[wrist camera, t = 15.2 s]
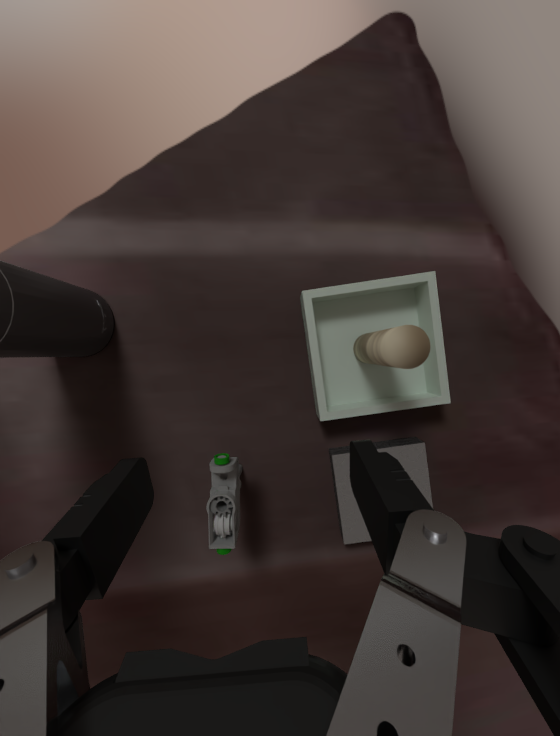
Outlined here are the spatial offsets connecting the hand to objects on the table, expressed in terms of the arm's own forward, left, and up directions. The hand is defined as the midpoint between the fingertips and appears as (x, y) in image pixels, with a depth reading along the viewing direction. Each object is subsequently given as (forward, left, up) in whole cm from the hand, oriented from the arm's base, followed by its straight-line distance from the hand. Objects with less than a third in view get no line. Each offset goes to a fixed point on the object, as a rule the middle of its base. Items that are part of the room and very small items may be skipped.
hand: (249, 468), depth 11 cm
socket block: (+12, -16, -27) cm, 34 cm away
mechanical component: (-7, -11, -27) cm, 30 cm away
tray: (+13, +3, -27) cm, 31 cm away
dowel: (+13, +3, -27) cm, 30 cm away
